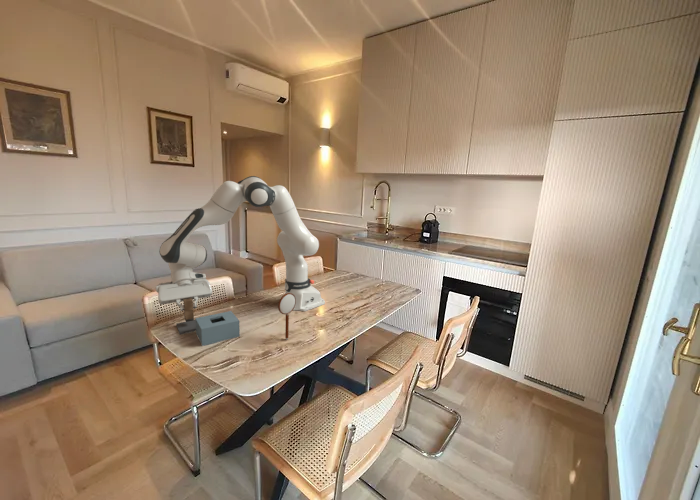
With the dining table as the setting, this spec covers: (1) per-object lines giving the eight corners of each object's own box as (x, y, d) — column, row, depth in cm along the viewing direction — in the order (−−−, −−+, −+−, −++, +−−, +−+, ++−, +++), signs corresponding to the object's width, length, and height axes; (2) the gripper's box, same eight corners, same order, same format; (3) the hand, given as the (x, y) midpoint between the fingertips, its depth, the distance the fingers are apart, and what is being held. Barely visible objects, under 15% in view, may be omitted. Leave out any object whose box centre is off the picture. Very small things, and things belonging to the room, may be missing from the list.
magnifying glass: (293, 335, 124) (294, 290, 120) (296, 336, 123) (297, 291, 119) (277, 342, 117) (277, 295, 113) (279, 344, 116) (280, 296, 112)
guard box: (231, 325, 129) (231, 310, 128) (239, 336, 121) (239, 320, 119) (196, 334, 121) (195, 318, 119) (202, 346, 112) (201, 329, 111)
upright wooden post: (192, 317, 127) (191, 298, 125) (193, 320, 125) (192, 300, 123) (184, 319, 125) (183, 299, 123) (185, 321, 123) (184, 301, 121)
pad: (199, 320, 132) (199, 318, 132) (203, 328, 125) (203, 326, 125) (176, 325, 127) (176, 323, 126) (179, 334, 120) (179, 332, 119)
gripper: (155, 280, 120) (159, 311, 115) (209, 273, 133) (215, 301, 127) (154, 287, 125) (159, 317, 119) (207, 280, 137) (213, 307, 132)
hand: (188, 309), depth 123 cm, fingers closed on upright wooden post, 3 cm apart
